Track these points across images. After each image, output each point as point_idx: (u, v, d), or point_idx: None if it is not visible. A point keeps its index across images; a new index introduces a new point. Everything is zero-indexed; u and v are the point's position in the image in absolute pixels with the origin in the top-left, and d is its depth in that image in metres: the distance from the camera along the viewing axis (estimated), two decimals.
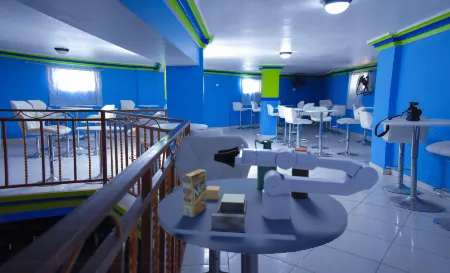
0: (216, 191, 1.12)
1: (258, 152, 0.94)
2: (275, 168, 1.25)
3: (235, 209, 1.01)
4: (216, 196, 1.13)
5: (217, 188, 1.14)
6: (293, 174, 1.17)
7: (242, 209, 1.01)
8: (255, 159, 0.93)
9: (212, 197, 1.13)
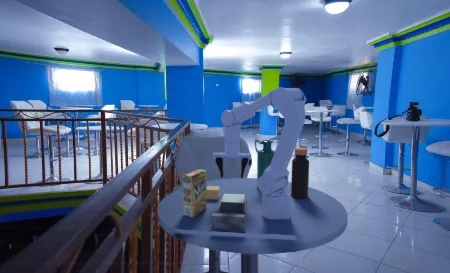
0: (216, 191, 1.12)
1: None
2: None
3: (235, 209, 1.01)
4: (216, 196, 1.13)
5: (217, 188, 1.14)
6: (293, 174, 1.17)
7: (242, 209, 1.01)
8: None
9: (212, 197, 1.13)
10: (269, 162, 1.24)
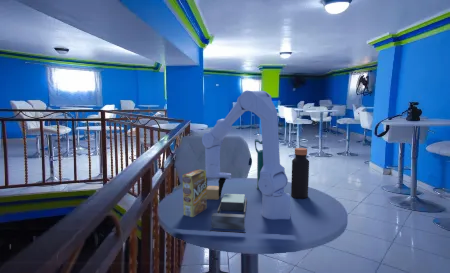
0: (216, 191, 1.12)
1: (205, 161, 1.13)
2: None
3: (235, 209, 1.01)
4: (216, 196, 1.13)
5: (217, 188, 1.14)
6: (293, 174, 1.17)
7: (242, 209, 1.01)
8: None
9: (212, 197, 1.13)
10: None
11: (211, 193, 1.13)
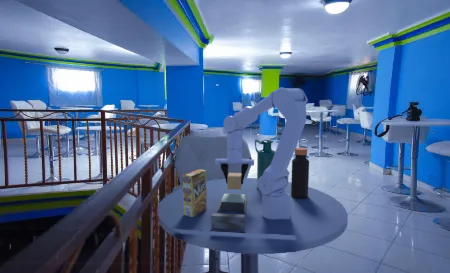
0: (238, 177, 1.07)
1: (227, 146, 1.08)
2: None
3: (235, 209, 1.01)
4: (238, 183, 1.07)
5: (239, 175, 1.09)
6: (293, 174, 1.17)
7: (242, 209, 1.01)
8: (227, 148, 1.08)
9: (234, 184, 1.07)
10: (269, 162, 1.24)
11: (233, 180, 1.07)
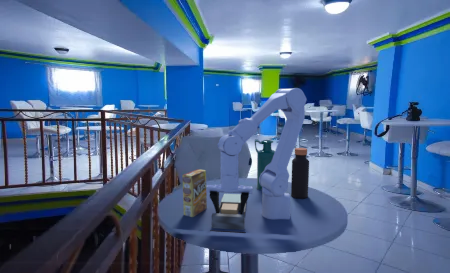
0: (234, 211, 0.90)
1: (225, 173, 0.88)
2: None
3: None
4: None
5: (235, 207, 0.92)
6: (293, 174, 1.17)
7: None
8: (220, 173, 0.91)
9: None
10: (269, 162, 1.24)
11: None
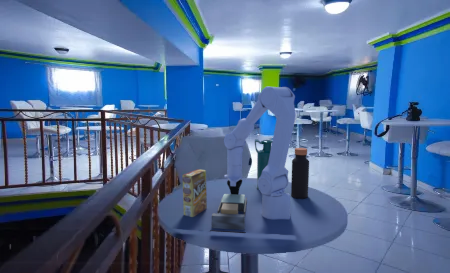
0: (234, 211, 0.90)
1: (227, 162, 1.10)
2: None
3: None
4: None
5: (235, 207, 0.92)
6: (293, 174, 1.17)
7: (242, 209, 1.01)
8: (234, 166, 1.07)
9: None
10: None
11: None
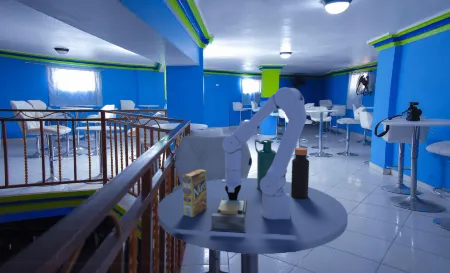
0: (234, 212, 0.89)
1: (225, 167, 1.02)
2: None
3: None
4: None
5: (235, 208, 0.91)
6: (293, 174, 1.17)
7: None
8: (232, 171, 1.00)
9: None
10: (269, 162, 1.24)
11: None
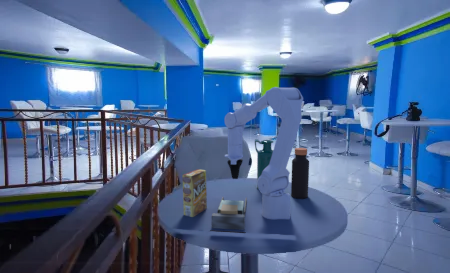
0: (234, 212, 0.89)
1: None
2: None
3: None
4: None
5: (235, 208, 0.91)
6: (293, 174, 1.17)
7: None
8: (235, 145, 1.08)
9: None
10: (269, 162, 1.24)
11: None
